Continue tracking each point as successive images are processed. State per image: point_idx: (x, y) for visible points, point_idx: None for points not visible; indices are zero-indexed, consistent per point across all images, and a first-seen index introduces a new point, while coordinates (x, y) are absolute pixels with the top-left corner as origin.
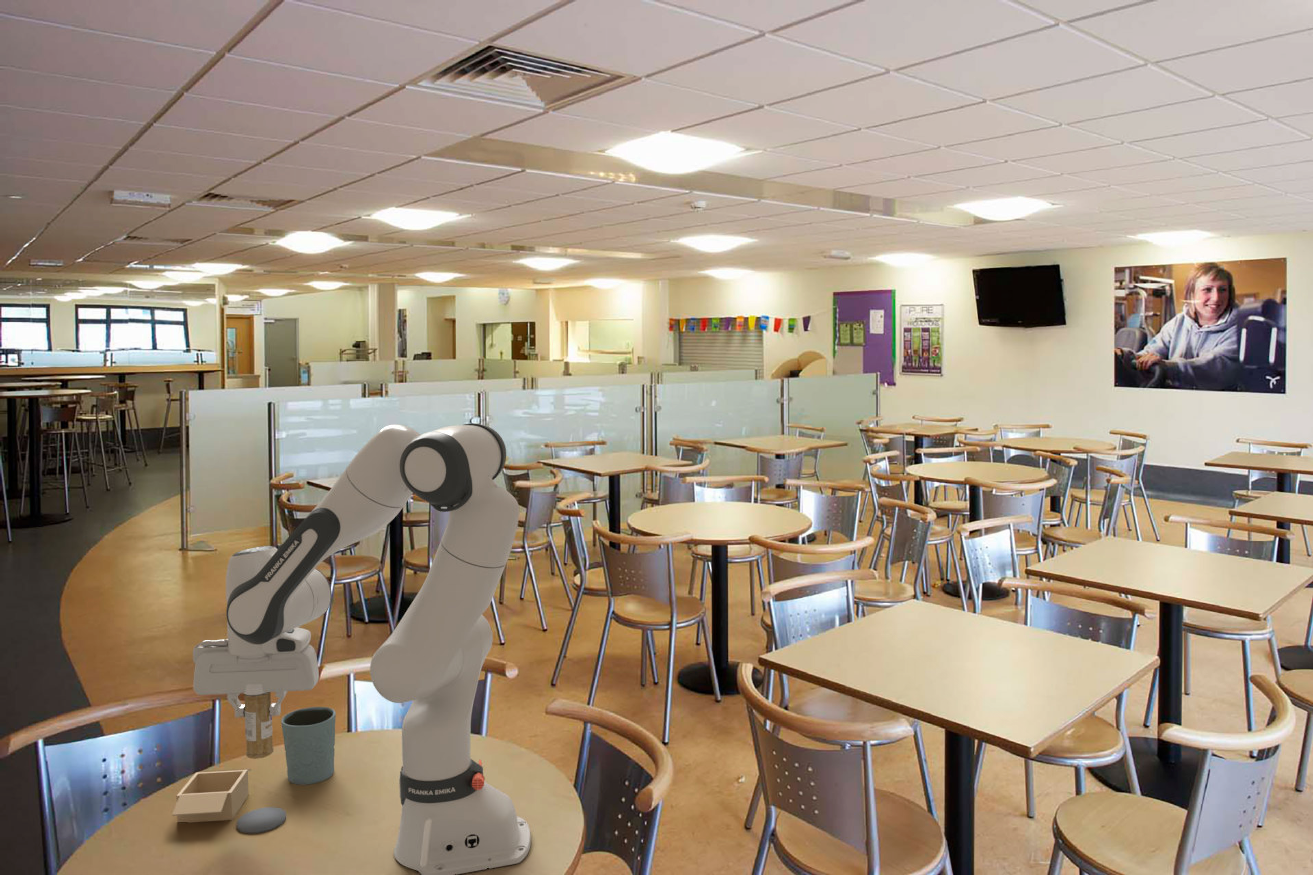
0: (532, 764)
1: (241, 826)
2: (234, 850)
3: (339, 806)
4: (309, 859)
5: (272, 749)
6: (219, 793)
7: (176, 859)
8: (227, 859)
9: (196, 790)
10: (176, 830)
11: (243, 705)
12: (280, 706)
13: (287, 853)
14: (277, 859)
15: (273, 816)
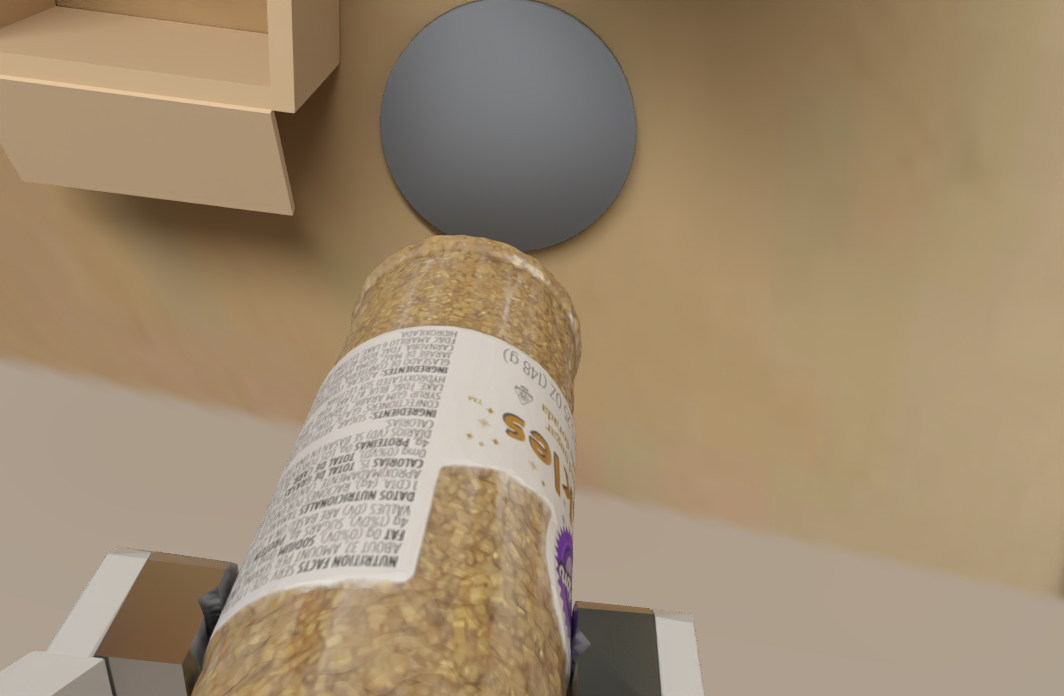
0: None
1: (419, 197)
2: None
3: (937, 59)
4: (752, 495)
5: (576, 369)
6: (220, 111)
7: (216, 371)
8: None
9: None
10: None
11: (152, 686)
12: (699, 683)
13: (665, 437)
14: (629, 466)
15: (569, 132)
